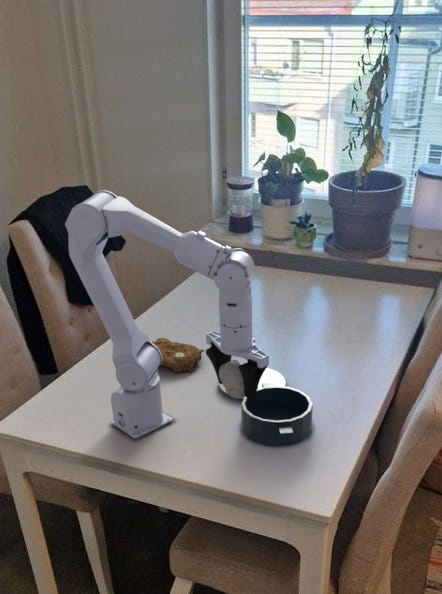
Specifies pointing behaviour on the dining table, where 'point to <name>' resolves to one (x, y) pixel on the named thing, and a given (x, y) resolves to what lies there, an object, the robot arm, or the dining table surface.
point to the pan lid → (264, 380)
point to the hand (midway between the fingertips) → (237, 388)
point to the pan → (277, 416)
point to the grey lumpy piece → (232, 379)
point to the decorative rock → (178, 355)
